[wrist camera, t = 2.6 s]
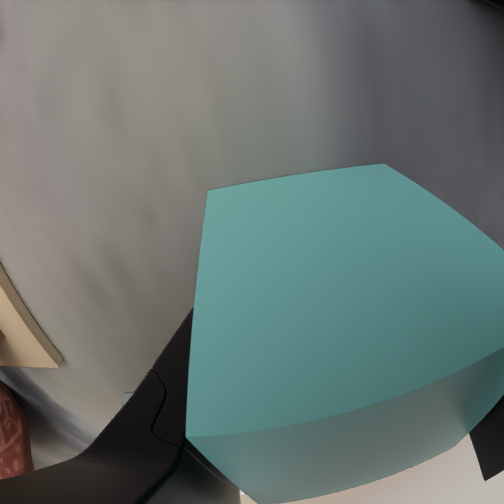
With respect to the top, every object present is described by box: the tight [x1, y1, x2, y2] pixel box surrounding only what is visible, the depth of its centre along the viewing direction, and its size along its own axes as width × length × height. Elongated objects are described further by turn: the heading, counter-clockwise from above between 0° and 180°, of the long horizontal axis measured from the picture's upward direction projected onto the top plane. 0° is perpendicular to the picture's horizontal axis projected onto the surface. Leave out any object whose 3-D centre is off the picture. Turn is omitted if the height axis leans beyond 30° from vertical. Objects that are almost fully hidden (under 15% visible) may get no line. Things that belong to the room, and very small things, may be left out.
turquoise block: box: [186, 164, 504, 504], centre depth 7 cm, size 5×5×7 cm
